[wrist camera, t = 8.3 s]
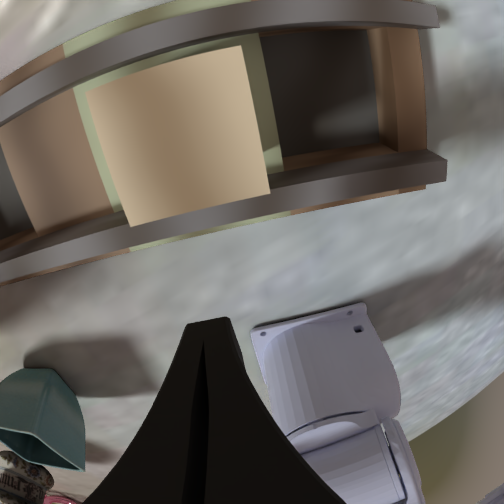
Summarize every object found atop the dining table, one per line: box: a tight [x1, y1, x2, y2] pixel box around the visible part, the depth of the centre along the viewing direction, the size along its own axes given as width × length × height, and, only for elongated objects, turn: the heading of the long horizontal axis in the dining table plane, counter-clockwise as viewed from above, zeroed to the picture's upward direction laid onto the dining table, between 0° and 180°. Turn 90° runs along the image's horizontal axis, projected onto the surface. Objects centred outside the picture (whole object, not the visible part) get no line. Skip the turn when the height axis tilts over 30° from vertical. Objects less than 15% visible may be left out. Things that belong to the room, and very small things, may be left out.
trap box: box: [0, 0, 447, 286], centre depth 14 cm, size 32×12×4 cm, turn 101°
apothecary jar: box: [0, 451, 54, 504], centre depth 31 cm, size 12×12×18 cm
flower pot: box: [0, 368, 85, 472], centre depth 23 cm, size 9×9×9 cm
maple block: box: [85, 45, 270, 227], centre depth 11 cm, size 5×5×5 cm
